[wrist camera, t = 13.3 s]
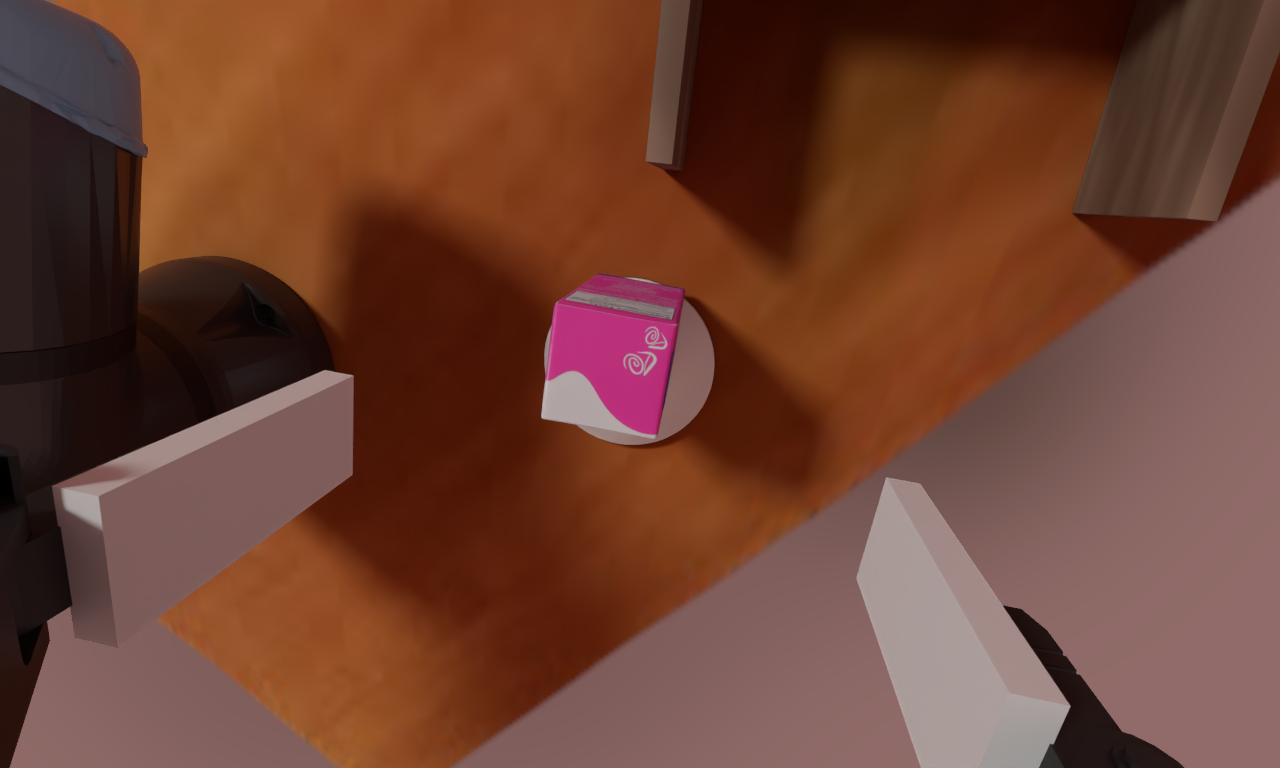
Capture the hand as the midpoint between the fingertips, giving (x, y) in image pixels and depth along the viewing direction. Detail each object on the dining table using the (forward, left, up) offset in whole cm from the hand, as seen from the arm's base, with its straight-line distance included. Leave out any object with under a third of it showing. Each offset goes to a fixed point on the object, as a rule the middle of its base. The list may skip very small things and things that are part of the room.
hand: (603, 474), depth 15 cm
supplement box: (-2, -1, -25) cm, 25 cm away
